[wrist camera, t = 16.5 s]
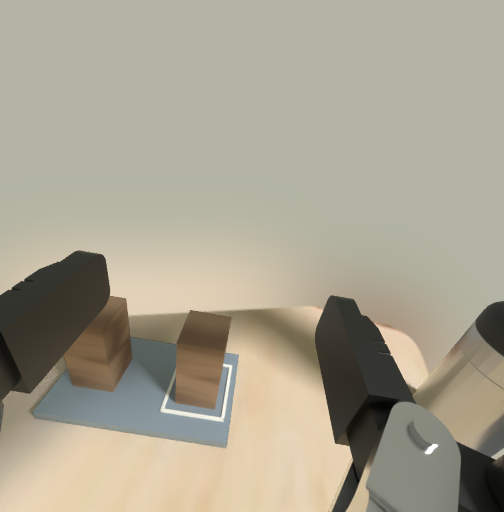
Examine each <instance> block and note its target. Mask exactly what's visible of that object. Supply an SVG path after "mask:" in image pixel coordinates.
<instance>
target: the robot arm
mask: <svg viewBox="0 0 504 512" xmlns="http://www.w3.org/2000/svg"><path fill="white" fill-rule="evenodd" d="M109 296H110V286H109V279H108V272H107V265H106V259H105V257H104V256H103V255H101V254H96V253H90V252H85V251H75V252H74V253H72V254H71V255H69V256H68V257H66V258H65V259H63V260H62V261H61V262H57V263H54V264H52V265H49V266H46V267H44V268H41V269H39V270H37V271H36V272H34V273H33V274H32V275H30V276H28V277H27V278H25V280H24V281H21V282H20V283H18V284H17V285H15V286H14V287H12V289H11V290H8V291H6V292H5V293H3V294H2V295H0V430H1V423H2V416H3V408H4V405H3V402H2V399H3V398H4V397H5V396H6V395H7V394H8V393H9V392H10V391H17V392H24V393H31V392H32V391H33V390H34V388H35V387H36V386H37V385H38V384H39V383H40V381H41V380H42V379H43V378H44V377H45V376H46V374H47V373H48V372H49V371H50V370H51V369H52V368H53V366H54V365H55V364H56V363H57V362H58V361H59V359H60V358H61V357H62V356H63V355H64V354H65V352H66V351H67V350H68V349H69V348H70V347H71V345H72V344H73V343H74V342H75V341H76V340H77V339H78V337H79V336H80V335H81V334H82V333H83V332H84V330H85V329H86V328H87V327H88V326H89V325H90V323H91V322H92V321H93V320H94V319H95V318H96V316H97V315H98V314H99V313H100V312H101V311H102V309H103V308H104V307H105V306H106V304H107V302H108V300H109ZM315 344H316V349H317V354H318V359H319V364H320V369H321V374H322V379H323V384H324V389H325V394H326V399H327V405H328V410H329V415H330V420H331V425H332V430H333V435H334V440H335V444H341V445H347V446H350V450H351V454H352V459H351V460H350V462H349V464H348V466H347V468H346V471H345V473H344V475H343V478H342V480H341V482H340V485H339V487H338V489H337V492H336V494H335V496H334V499H333V501H332V503H331V506H330V508H329V510H328V512H504V455H503V456H501V457H500V458H498V459H497V460H495V459H493V458H491V457H492V456H493V455H495V454H496V453H498V452H499V451H500V450H502V449H503V448H504V301H502V302H496V303H493V304H491V305H489V306H488V307H487V308H486V309H485V310H483V312H482V313H481V314H480V315H479V316H478V318H477V319H476V321H475V322H474V323H473V324H472V325H471V326H470V328H469V329H468V330H467V331H466V332H465V334H464V335H463V336H462V337H461V339H460V340H459V341H458V342H457V343H456V344H455V346H454V347H453V348H452V349H451V350H450V352H449V353H448V354H447V355H446V356H445V358H444V359H443V360H442V361H441V362H440V363H439V365H438V366H437V367H436V368H435V369H434V371H433V372H432V373H431V374H430V375H429V376H428V378H427V379H426V380H425V381H424V382H423V384H422V385H421V386H420V387H419V388H418V389H417V391H416V392H415V393H414V394H413V395H412V394H411V392H410V390H409V388H408V386H407V384H406V382H405V380H404V378H403V376H402V374H401V372H400V370H399V368H398V366H397V364H396V362H395V361H394V359H393V357H392V356H391V355H390V351H389V349H388V347H387V345H386V344H385V341H384V339H383V337H382V335H381V333H380V331H379V329H378V328H377V326H376V325H375V324H374V323H373V322H372V321H371V320H370V319H369V318H368V317H367V316H363V315H361V313H360V311H359V309H358V307H357V304H356V302H355V301H354V300H353V299H349V298H344V297H338V296H330V297H329V299H328V301H327V303H326V305H325V308H324V310H323V313H322V315H321V318H320V320H319V322H318V325H317V328H316V333H315Z"/></svg>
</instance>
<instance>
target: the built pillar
mask: <svg viewBox="0 0 504 512" xmlns="http://www.w3.org/2000/svg"><path fill="white" fill-rule="evenodd" d="M63 356H64V359H65V362H66V366H67V369H68V372H69V375H70V378H71V381H72V384H73V386H77V387H83V388H89V389H95V390H102V391H108V392H114V390H115V389H116V387H117V385H118V383H119V381H120V380H121V378H122V376H123V374H124V373H125V371H126V369H127V367H128V366H129V364H130V362H131V360H132V358H133V357H132V348H131V339H130V330H129V321H128V312H127V303H126V299H125V298H120V297H114V296H109V300H108V302H107V304H106V306H105V307H104V308H103V309H102V311H101V312H100V313H99V314H98V315H97V316H96V318H95V319H94V320H93V321H92V322H91V323H90V325H89V326H88V327H87V328H86V329H85V330H84V332H83V333H82V334H81V335H80V336H79V337H78V339H77V340H76V341H75V342H74V343H73V344H72V345H71V347H70V348H69V349H68V350H67V351H66V352H65V354H64V355H63Z"/></svg>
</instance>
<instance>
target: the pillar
mask: <svg viewBox="0 0 504 512" xmlns="http://www.w3.org/2000/svg"><path fill="white" fill-rule="evenodd" d="M230 322H231V317H227V316H221V315H215V314H210V313H204V312H198V311H192V310H190V312H189V315H188V317H187V320H186V322H185V324H184V327H183V329H182V332H181V334H180V336H179V339H178V341H177V352H176V394H175V403H178V404H184V405H190V406H196V407H202V408H208V409H214V410H215V406H216V401H217V396H218V391H219V385H220V380H221V375H222V369H223V363H224V357H225V352H226V346H227V340H228V334H229V328H230Z"/></svg>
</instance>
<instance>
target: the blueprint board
mask: <svg viewBox="0 0 504 512" xmlns="http://www.w3.org/2000/svg"><path fill="white" fill-rule="evenodd" d="M130 339H131V348H132V357H133V358H132V360H131V362H130V364H129V366H128V367H127V369H126V371H125V373H124V374H123V376H122V378H121V380H120V381H119V383H118V385H117V387H116V389H115V390H114V392H108V391H102V390H95V389H89V388H83V387H77V386H73V384H72V381H71V378H70V375H69V372H68V369H66V371H65V372H64V373H63V374H62V376H61V377H60V378H59V379H58V381H57V382H56V383H55V384H54V386H53V387H52V388H51V389H50V391H49V392H48V393H47V394H46V396H45V397H44V398H43V399H42V401H41V402H40V403H39V404H38V406H37V407H36V408H35V409H34V411H33V412H32V413H33V415H34V417H35V418H37V419H43V420H50V421H56V422H63V423H69V424H75V425H82V426H88V427H95V428H101V429H107V430H114V431H120V432H126V433H133V434H139V435H146V436H152V437H158V438H165V439H171V440H178V441H184V442H190V443H197V444H203V445H209V446H216V447H222V448H226V446H227V440H228V433H229V425H230V418H231V410H232V402H233V395H234V387H235V380H236V372H237V364H238V357H239V355H236V354H230V353H225V357H224V363H223V369H222V375H221V380H220V385H219V391H218V396H217V401H216V406H215V410H214V409H208V408H202V407H196V406H190V405H184V404H178V403H175V394H176V352H177V345H176V344H170V343H164V342H158V341H152V340H146V339H140V338H134V337H130Z"/></svg>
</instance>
